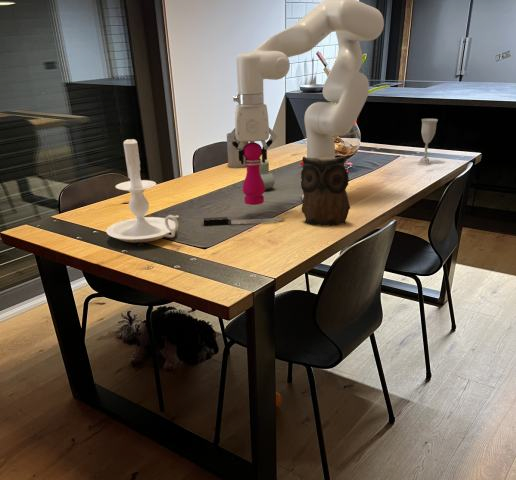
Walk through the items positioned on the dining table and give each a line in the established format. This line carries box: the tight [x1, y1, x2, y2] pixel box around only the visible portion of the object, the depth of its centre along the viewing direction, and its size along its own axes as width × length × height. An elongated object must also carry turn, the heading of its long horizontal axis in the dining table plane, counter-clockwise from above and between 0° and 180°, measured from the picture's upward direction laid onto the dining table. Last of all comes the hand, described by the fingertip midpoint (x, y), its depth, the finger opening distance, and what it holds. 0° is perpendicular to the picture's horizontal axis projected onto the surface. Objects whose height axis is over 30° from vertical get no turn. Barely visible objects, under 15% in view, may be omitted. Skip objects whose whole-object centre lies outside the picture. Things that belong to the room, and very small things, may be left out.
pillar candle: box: [226, 132, 250, 169], centre depth 239 cm, size 10×10×15 cm
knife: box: [203, 216, 284, 227], centre depth 170 cm, size 25×4×2 cm, turn 95°
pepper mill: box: [242, 141, 266, 206], centre depth 169 cm, size 7×7×20 cm
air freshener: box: [259, 159, 276, 191], centre depth 204 cm, size 11×8×10 cm
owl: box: [300, 156, 351, 227], centre depth 163 cm, size 13×13×20 cm
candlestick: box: [106, 138, 180, 244], centre depth 152 cm, size 21×25×28 cm
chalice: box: [418, 118, 439, 166], centre depth 231 cm, size 7×7×18 cm
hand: (252, 162), depth 168 cm, fingers closed on pepper mill, 6 cm apart
